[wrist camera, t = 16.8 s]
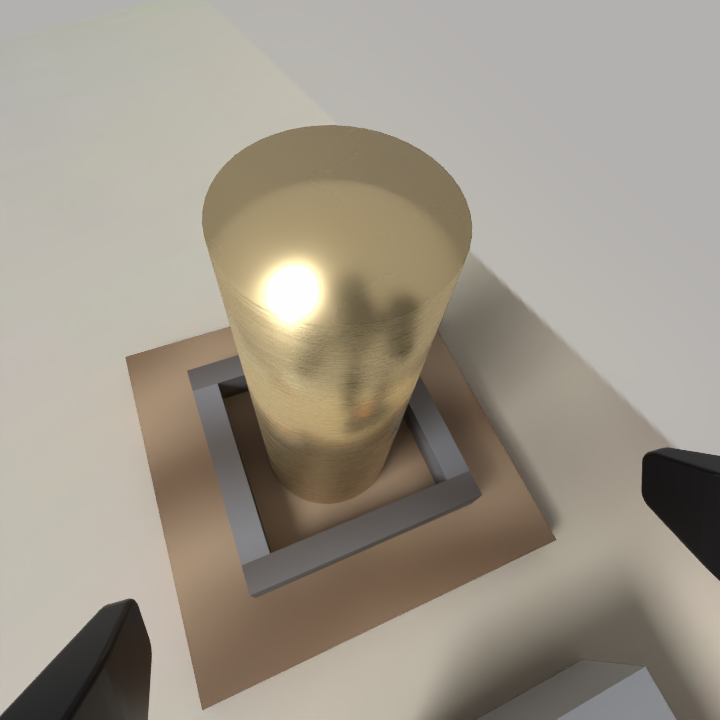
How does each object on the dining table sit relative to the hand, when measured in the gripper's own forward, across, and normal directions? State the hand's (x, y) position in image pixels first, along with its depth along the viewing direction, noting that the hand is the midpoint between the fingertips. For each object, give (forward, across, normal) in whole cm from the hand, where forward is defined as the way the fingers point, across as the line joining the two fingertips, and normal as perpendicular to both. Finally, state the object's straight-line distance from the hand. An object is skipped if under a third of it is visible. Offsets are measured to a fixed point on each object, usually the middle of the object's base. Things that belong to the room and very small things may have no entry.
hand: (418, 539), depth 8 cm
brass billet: (+12, 0, +4) cm, 12 cm away
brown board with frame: (+13, 0, +4) cm, 13 cm away
